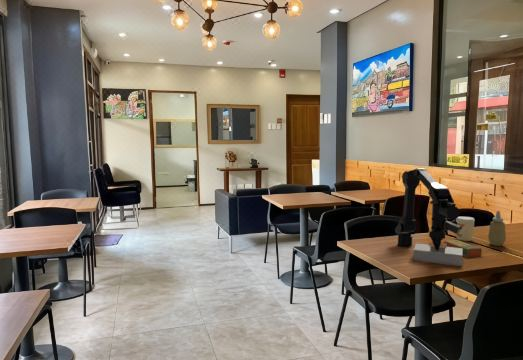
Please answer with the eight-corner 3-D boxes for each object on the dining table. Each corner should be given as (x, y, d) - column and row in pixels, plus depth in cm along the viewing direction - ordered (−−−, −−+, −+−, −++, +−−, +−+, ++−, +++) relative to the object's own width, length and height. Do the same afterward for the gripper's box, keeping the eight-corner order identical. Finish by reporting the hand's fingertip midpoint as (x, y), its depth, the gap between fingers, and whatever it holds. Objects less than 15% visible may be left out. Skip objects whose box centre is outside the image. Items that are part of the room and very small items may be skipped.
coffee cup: (452, 237, 221) (452, 216, 220) (468, 237, 221) (469, 216, 220) (459, 241, 212) (460, 219, 211) (477, 241, 212) (478, 219, 210)
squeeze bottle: (507, 247, 199) (509, 212, 197) (489, 246, 202) (491, 212, 200) (503, 243, 207) (505, 210, 205) (486, 242, 209) (487, 209, 207)
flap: (413, 250, 179) (413, 240, 178) (416, 244, 189) (416, 235, 189) (462, 256, 169) (462, 245, 169) (462, 249, 180) (462, 239, 180)
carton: (456, 247, 201) (457, 239, 200) (481, 256, 185) (482, 247, 185) (443, 248, 199) (443, 240, 198) (467, 257, 183) (467, 249, 183)
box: (413, 260, 179) (413, 250, 179) (416, 253, 190) (416, 244, 189) (461, 266, 170) (462, 256, 170) (462, 258, 181) (462, 249, 180)
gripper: (458, 220, 161) (457, 257, 163) (459, 213, 178) (457, 246, 179) (429, 218, 166) (428, 253, 168) (432, 211, 183) (431, 243, 185)
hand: (437, 249), depth 175 cm, fingers open, 4 cm apart
